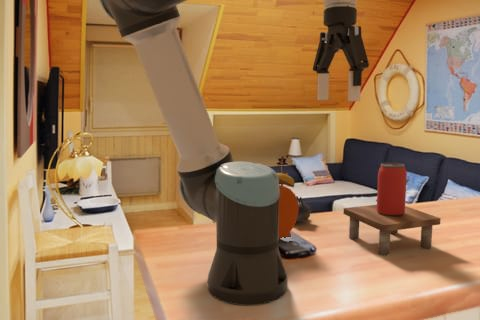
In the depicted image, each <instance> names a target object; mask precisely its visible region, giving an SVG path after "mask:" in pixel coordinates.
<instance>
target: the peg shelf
mask: <svg viewBox="0 0 480 320" xmlns="http://www.w3.org/2000/svg"><path fill="white" fill-rule="evenodd" d="M342 213H343V215H344V216H347V217H349V225H348V228H349V230H348V238H349V239H350V240H359V239H360V223H362V224H365V225H367V226H370V227H372V228H373V229H376V230H379V233H378V234H379V235H378V237H379V238H378V254H379V255H380V256H389V255H390V253H391V251H390V248H391V235H398V234H399V231H401V230H407V229H408V230H409V229H417V228H421V229H420V244H419V245H420V246H419V247H420V248H422V249H425V250H431V249H432V242H433V241H432V239H433V226H437V225H441V218H442V217H441V218H440V217H439V216H434V215H433V214H429V213H426V212H423V211H420V210H418V209H415V208H412V207H410V206H407V205H405V213H404V214H402V215H400V216H387V215H382V214H380V213H378V212H377V204H370V205H361V206H352V207H344V208H343V212H342Z"/></svg>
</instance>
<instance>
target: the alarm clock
mask: <svg viewBox="0 0 480 320" xmlns="http://www.w3.org/2000/svg"><path fill="white" fill-rule="evenodd" d="M271 163H273V161H270V162H268V164H271ZM277 163H280V170H281V171H280V172H276V173H277V175H278V180H279V189H280V196H279V234H278V240H279V239H280V238H282V237H284V238H286V237H291V236H292V235H291V234H292V233H291V231H292V230H293V228H294V227H295V225H296V220H297V218H298V211H299V207H298V200H297V198H296V196H297V195H296V193H294V192H293V190H291V189H290V188H288V187H291V188H295V180H294V178H293V177H291V176H290V175H289V173H288V172H286V173H284V172H283V166H282V165H283V164H282V161H281V160H280V161H278V160H277ZM260 164H262V165H265V162H263V163H262V162H261V163H260ZM286 186H287V187H286Z"/></svg>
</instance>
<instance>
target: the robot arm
mask: <svg viewBox="0 0 480 320" xmlns="http://www.w3.org/2000/svg"><path fill="white" fill-rule="evenodd" d="M186 1H188V0H99V2H100V5H101V7H102V9H103V11H104V12H105V13H106V14H107V15H108V17H109V18H111V19H112V20H113V21H114V22H115V24H116V28H117V29H118V32H119V34H120V36H121V39H122V40H124V41H126V42H128V43H129V44H132V45H133V47H134V50H135V51H136V53H137V57H138V59H139V62H140V63H141V66H142V69H143V71H144V73H145V76H146V79H147V81H148V83H149V85H150V88H151V90H152V93H153V95H154V97H155V100H156V103H157V105H158V107H159V110H160V112H161V115H162V118H163V120H164V123H165V125H166V126H167V129H168V132H169V134H170V138H171V139H172V141H173V145H174V147H175V149H176V151H177V154H178V156H179V159H178V162H177V165H176V167H175V168H176V171H177V174H178V176H179V182H178V185H179V193H180V196H181V197H182V199H183V201H184V203H185V204H186V205H187V206H188V207H189V208H190V209H192V211H194V212H196V213H197V214H199V215H202V216H204V217H205V218H207V219H209V220H211V221H213V222H214V223H215V224H216V249H215V254H214V256H213V259H212V263H211V266H210V268H209V269H210V270H209V273H208V276H207V290H208V293H209V294H210V295H211V296H212V297H214V298H215V299H217V300H220V301H222V302H225V303H227V304H232V305H241V306H242V305H244V306H248V305H249V306H252V305H256V306H257V305H262V304H267V303H271V302H272V303H273V302H274V301H277V300H279V299H280V298H282V297H283V296H284V295H285V294H286V293H287V291H288V276H287V272H286V269H285V265H284V262H283V260H282V256H281V253H280V250H279V239H278V234H279V196H280V189H279V185H280V182H279V180H278V175H277V173H278V172H277V171H275V170H274V169H273V168H272V167H269V166H268V165H265V164H261V163H258V162H257V163H255V162H250V161H235V160H234V157H233V155H232V153H231V150H230V147H229V146H227V145H225V144H222V143H220V142H219V139H218V137H217V136H218V135H217V134H216V131H215V129H214V126H213V123H212V120H211V119H210V118H211V117H210V115H209V113H208V110H207V108H206V104H205V101H204V98H203V97H202V96H203V95H202V94H201V92H200V89H199V87H198V86H199V85H198V83H197V80H196V78H195V76H194V72H193V70H192V67H191V65H190V62H189V59H188V56H187V54H186V51H185V48H184V46H183V44H182V43H183V42H182V41H181V38H180V34H179V33H178V26H179V23H180V20H181V14H180V12H179V10H178V5H180V4H182V3H184V2H186ZM357 5H358V0H323V7H324V8H325V9H324V10H323V22H322V23H323V25H324V27H327V29H328V30H327V32H325V31H323V32H320V34H319V42H318V43H319V44H318V47H317V50H316V54H315V58H314V62H313V67H312V70H313V72H316V74H317V98H316V99H317V100H318V101H328V100H329V94H330V93H329V87H330V71H329V68H330V67H331V63H332V61H333V59H334V57H335V55H336V54H337V52H338V51H339V50H342V52H343V54H344V56H345V59H346V61H347V63H348V66H349V69H348V85H347V87H348V89H347V101H348V102H361V89H362V88H361V86H362V79H363V78H362V77H363V76H362V74H363V72H364V69H367V68H369V65H370V64H369V63H370V62H369V60H368V55H367V51H366V48H365V45H364V41H363V36H362V26H360V25H356V24H357V20H358V19H357V15H358V9H357V8H356V6H357Z"/></svg>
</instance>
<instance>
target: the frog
mask: <svg viewBox="0 0 480 320" xmlns="http://www.w3.org/2000/svg"><path fill="white" fill-rule="evenodd" d="M295 196H296V198H297V200H298V207H299V211H298V218H297V220H296V222H297V223H298V222H303V221H308V220H309V218H310V217H311V214H310V213H311V212H312V211H313V207H312V206H310V205H308V204H306V203H305V202H303V198H302V196H299V197H298V195H295Z"/></svg>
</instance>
